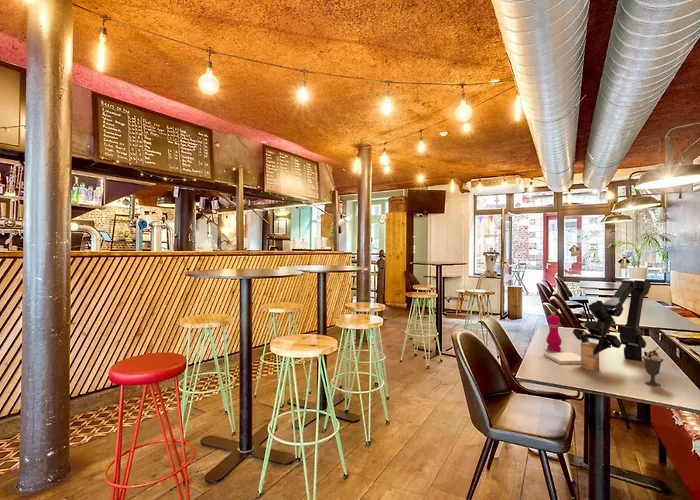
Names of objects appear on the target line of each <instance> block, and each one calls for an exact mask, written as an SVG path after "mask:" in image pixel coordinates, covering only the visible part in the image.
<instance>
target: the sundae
mask: <svg viewBox="0 0 700 500" xmlns="http://www.w3.org/2000/svg"><path fill="white" fill-rule="evenodd" d="M658 349H660V347H656V348H655V349H653V350H651V351H648V352H647V351H643V353H644V354H643V355H644V356H643V355H642V360H643V363H644V367H645V371H646V373H647V374H648V375H650V379H649V381H645V382H644V384H645V385H647V386H652V387H657V386H659V387H661V386H662V385H661V384H660V383H658V382H656V379H655V377H656V376H657V375H659V373H660V371H661V365H662V362H664V358H661V356H660V355H659V353H658V352H657V350H658Z"/></svg>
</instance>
